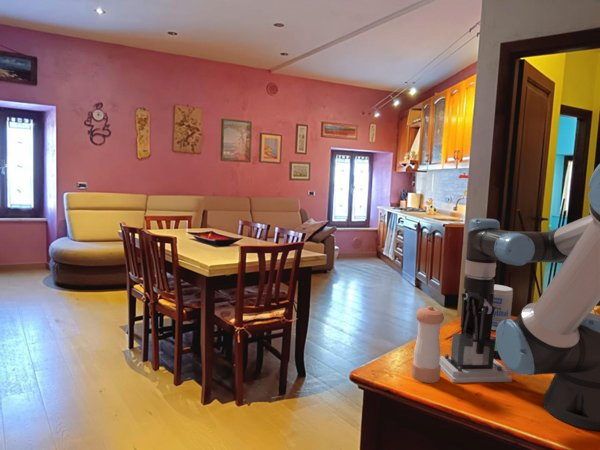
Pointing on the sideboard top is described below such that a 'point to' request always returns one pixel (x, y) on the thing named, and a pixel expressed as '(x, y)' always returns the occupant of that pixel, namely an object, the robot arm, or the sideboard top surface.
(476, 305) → the robot arm
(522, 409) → the sideboard top surface
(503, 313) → the supplement tub
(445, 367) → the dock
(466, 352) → the grey plastic case
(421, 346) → the salt shaker
